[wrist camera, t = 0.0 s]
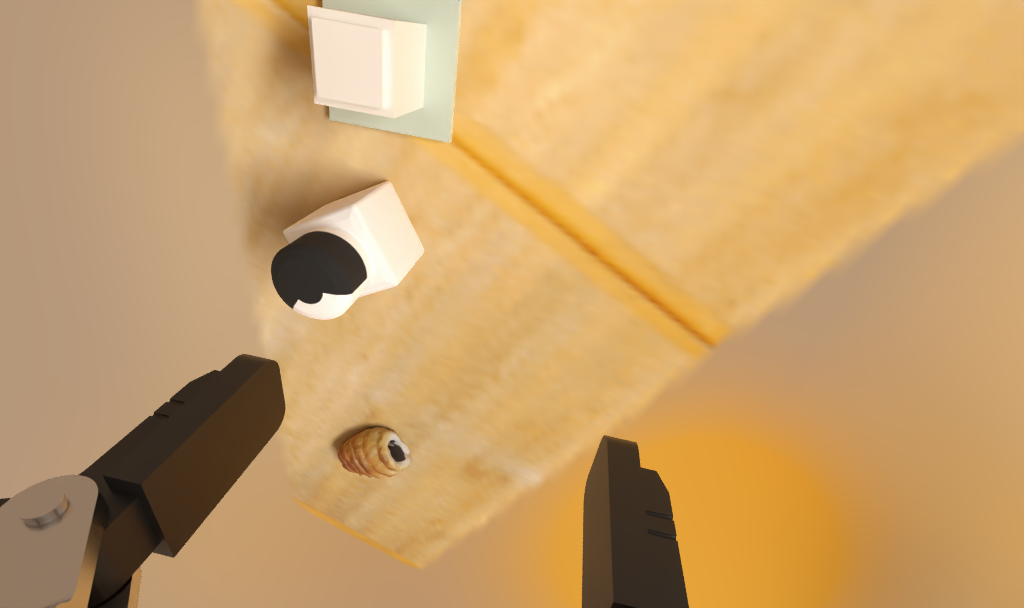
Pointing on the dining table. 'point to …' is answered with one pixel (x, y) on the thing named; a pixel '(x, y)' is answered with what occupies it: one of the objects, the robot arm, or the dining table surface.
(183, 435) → the robot arm
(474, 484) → the dining table surface
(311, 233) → the medicine bottle
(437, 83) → the tower base
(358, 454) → the pastry
